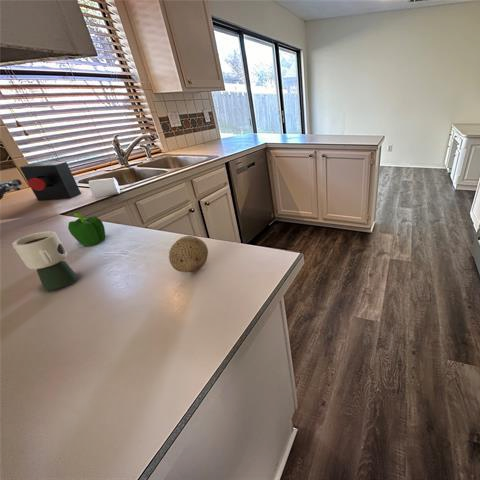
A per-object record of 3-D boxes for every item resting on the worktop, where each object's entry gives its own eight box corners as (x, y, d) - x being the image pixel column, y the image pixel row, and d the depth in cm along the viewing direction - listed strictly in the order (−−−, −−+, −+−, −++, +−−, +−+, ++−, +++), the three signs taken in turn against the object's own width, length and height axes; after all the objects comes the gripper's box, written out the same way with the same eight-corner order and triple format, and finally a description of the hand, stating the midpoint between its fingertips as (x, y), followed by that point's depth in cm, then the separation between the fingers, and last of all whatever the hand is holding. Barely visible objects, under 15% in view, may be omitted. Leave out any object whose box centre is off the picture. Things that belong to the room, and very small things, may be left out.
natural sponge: (209, 280, 65) (199, 244, 60) (170, 285, 63) (157, 249, 59) (214, 261, 73) (206, 228, 68) (180, 265, 71) (169, 232, 67)
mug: (119, 195, 129) (112, 179, 126) (94, 199, 125) (86, 182, 122) (122, 189, 139) (116, 174, 135) (99, 192, 135) (92, 177, 131)
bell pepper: (113, 241, 85) (100, 212, 80) (81, 251, 80) (65, 221, 75) (105, 234, 90) (93, 207, 85) (75, 243, 84) (59, 215, 80)
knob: (46, 190, 119) (39, 177, 116) (32, 191, 118) (25, 178, 115) (55, 186, 124) (49, 174, 122) (42, 187, 123) (35, 175, 121)
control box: (71, 198, 127) (54, 165, 120) (38, 201, 125) (19, 167, 118) (81, 193, 134) (66, 161, 127) (50, 195, 132) (33, 163, 125)
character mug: (86, 285, 64) (60, 238, 58) (47, 301, 59) (14, 251, 53) (75, 270, 70) (50, 226, 64) (39, 283, 66) (9, 237, 60)
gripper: (-5, 183, 94) (32, 171, 109) (-50, 185, 92) (-6, 173, 107) (7, 203, 97) (41, 189, 112) (-36, 206, 95) (5, 191, 110)
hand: (18, 181), depth 109 cm, fingers closed
